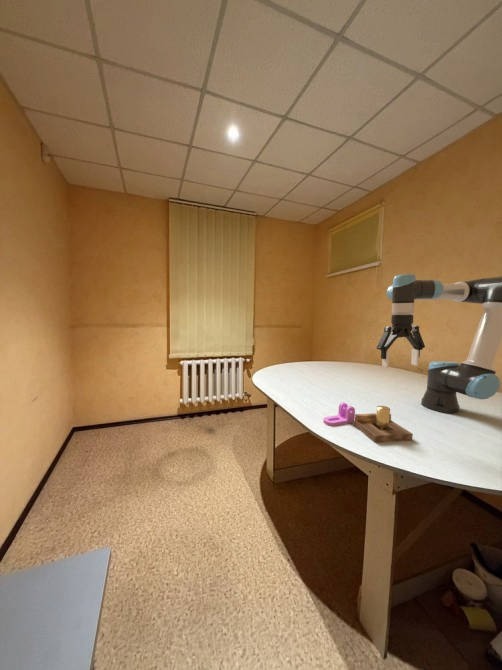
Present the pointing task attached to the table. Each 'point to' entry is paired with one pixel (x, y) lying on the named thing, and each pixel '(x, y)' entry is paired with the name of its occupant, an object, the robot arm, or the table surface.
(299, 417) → the table surface
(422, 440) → the table surface
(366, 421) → the frame
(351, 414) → the bracket
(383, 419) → the cylinder
